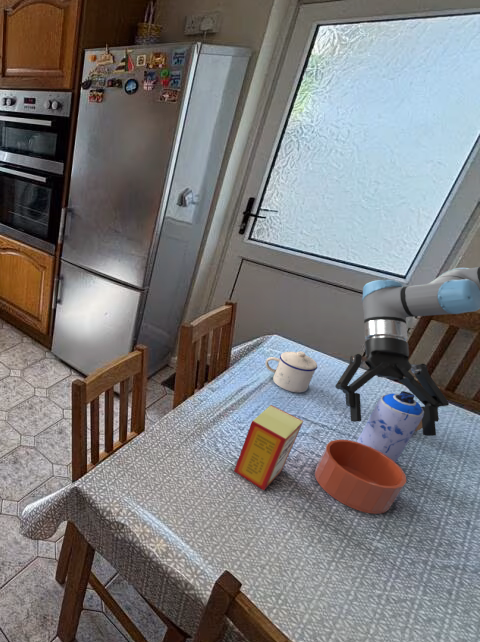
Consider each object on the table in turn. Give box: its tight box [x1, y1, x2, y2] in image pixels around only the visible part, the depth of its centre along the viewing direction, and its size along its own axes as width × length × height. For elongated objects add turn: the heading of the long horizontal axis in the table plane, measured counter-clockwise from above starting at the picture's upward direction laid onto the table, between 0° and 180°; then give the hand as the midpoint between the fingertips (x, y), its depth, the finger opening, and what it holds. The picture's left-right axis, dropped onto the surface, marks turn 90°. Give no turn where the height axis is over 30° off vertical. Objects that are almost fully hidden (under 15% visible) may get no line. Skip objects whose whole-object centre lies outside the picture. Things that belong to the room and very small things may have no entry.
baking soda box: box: [233, 404, 304, 491], centre depth 95 cm, size 10×6×16 cm
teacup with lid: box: [264, 350, 318, 394], centre depth 126 cm, size 12×9×12 cm
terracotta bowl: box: [314, 439, 407, 515], centre depth 92 cm, size 13×13×8 cm
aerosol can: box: [356, 390, 424, 464], centre depth 97 cm, size 8×8×20 cm
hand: (391, 428), depth 96 cm, fingers open, 13 cm apart
